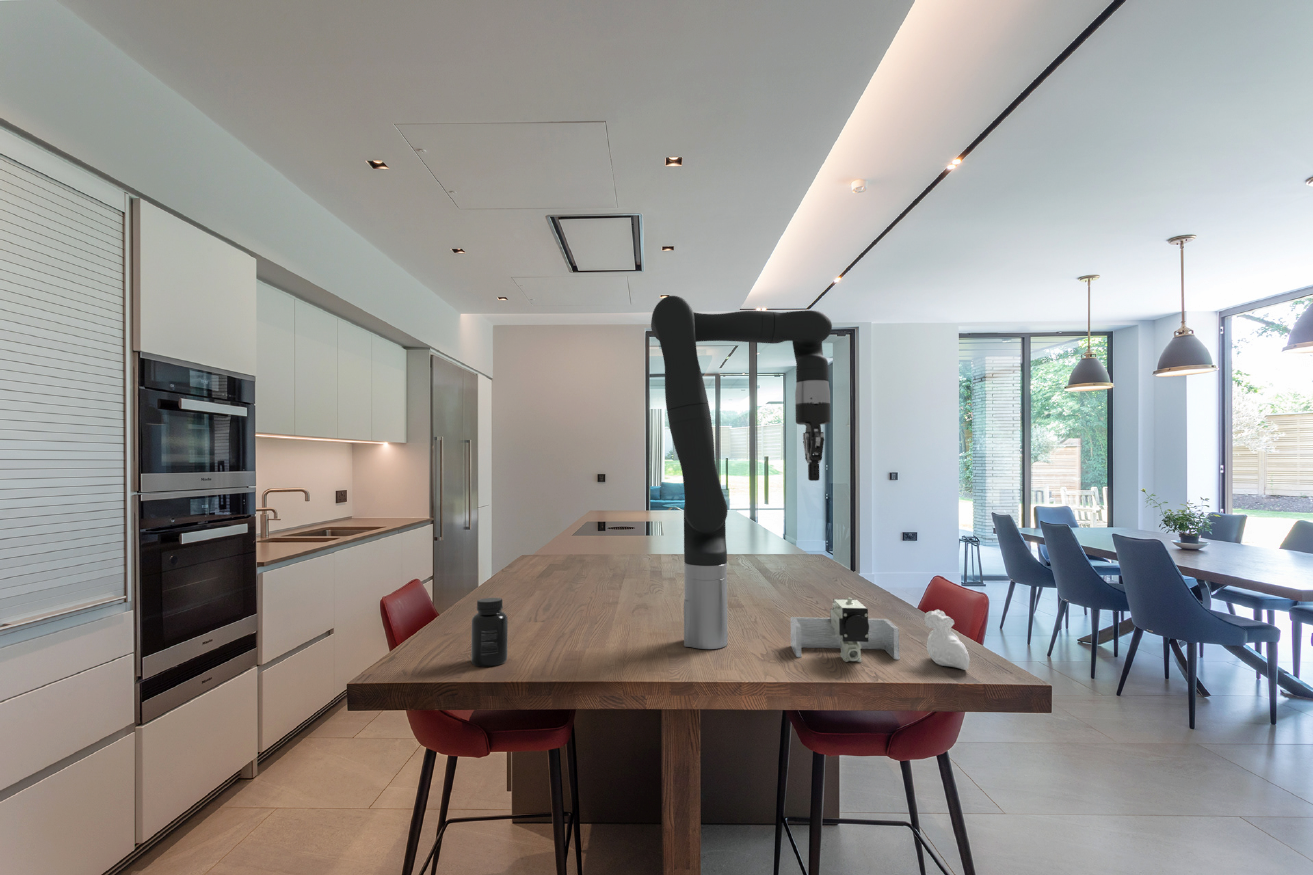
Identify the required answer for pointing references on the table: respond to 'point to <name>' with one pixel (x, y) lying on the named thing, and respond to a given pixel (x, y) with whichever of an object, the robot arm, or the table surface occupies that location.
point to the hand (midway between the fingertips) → (813, 480)
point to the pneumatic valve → (850, 626)
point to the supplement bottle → (489, 633)
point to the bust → (945, 641)
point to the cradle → (824, 636)
